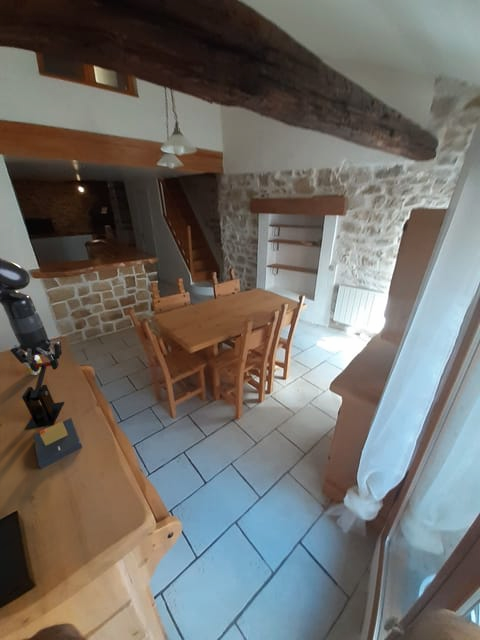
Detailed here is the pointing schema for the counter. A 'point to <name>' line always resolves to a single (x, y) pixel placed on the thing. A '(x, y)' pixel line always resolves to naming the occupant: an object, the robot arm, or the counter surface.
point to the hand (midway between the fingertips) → (46, 369)
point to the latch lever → (39, 380)
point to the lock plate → (57, 445)
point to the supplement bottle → (30, 367)
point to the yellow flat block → (53, 433)
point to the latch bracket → (41, 408)
